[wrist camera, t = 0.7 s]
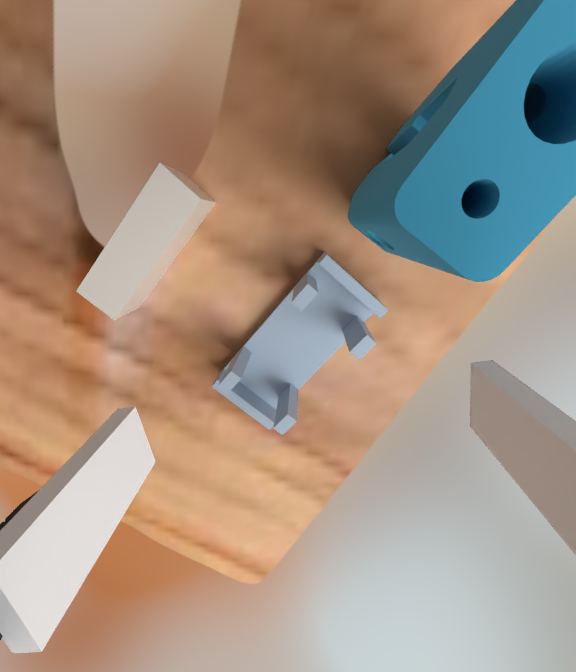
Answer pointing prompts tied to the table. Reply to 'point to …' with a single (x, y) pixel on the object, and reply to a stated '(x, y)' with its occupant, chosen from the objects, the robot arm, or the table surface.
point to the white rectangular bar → (146, 242)
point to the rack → (299, 343)
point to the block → (483, 151)
